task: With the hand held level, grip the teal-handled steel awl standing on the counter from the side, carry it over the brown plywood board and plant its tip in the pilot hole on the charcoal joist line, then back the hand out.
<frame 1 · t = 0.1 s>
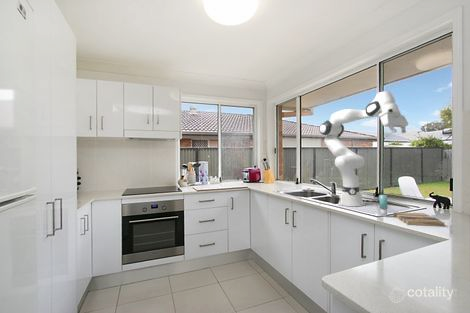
hand: (399, 132, 139), 52 cm above the countertop, fingers open, 8 cm apart
board: (416, 220, 126), on the countertop
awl: (384, 216, 137), on the countertop
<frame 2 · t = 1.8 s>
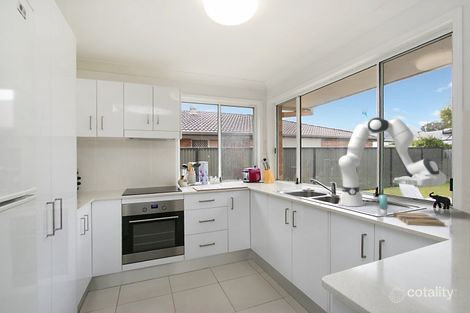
hand: (400, 182, 139), 21 cm above the countertop, fingers open, 8 cm apart
nothing on the countertop moved.
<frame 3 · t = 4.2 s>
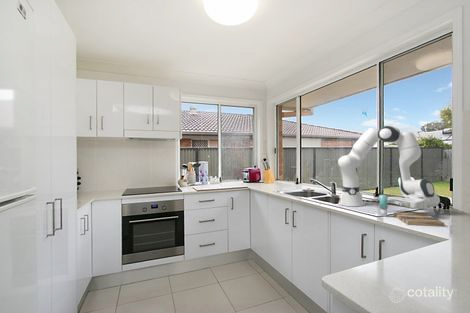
hand: (393, 202, 138), 8 cm above the countertop, fingers open, 8 cm apart
nothing on the countertop moved.
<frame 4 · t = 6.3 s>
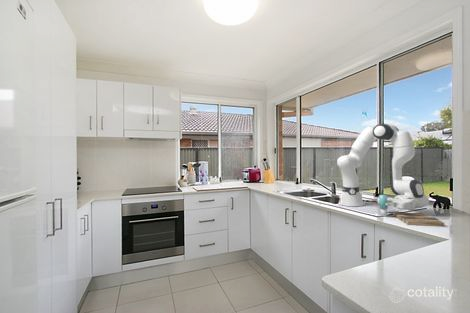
hand: (382, 203, 137), 8 cm above the countertop, fingers closed on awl, 4 cm apart
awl: (384, 216, 137), on the countertop, touching gripper
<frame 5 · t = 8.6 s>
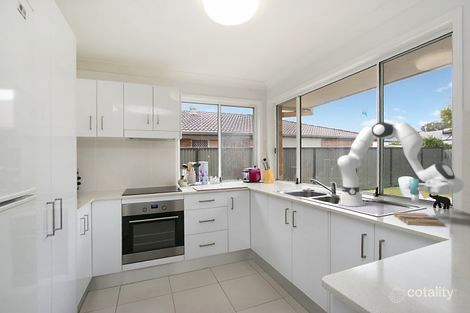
hand: (413, 188, 125), 19 cm above the countertop, fingers closed on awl, 4 cm apart
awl: (415, 202, 125), point 11 cm above the countertop, touching gripper
when the fingers open (9 cm above the countertop, at t = 11.3 s): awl stays where it is, resting in board.
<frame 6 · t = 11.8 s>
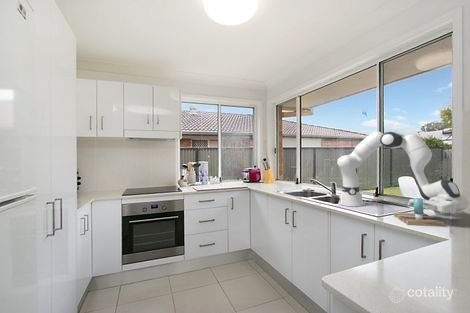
hand: (417, 205, 123), 9 cm above the countertop, fingers open, 8 cm apart
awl: (419, 221, 123), resting in board
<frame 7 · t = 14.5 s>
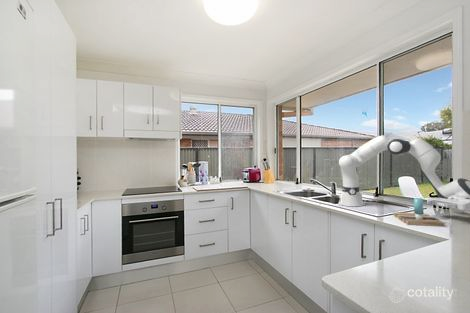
hand: (436, 204, 125), 9 cm above the countertop, fingers open, 8 cm apart
nothing on the countertop moved.
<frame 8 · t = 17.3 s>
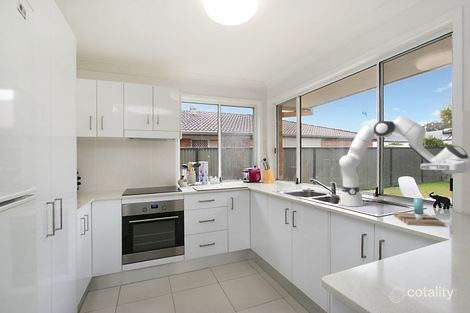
hand: (429, 167, 128), 30 cm above the countertop, fingers open, 8 cm apart
nothing on the countertop moved.
at the end: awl 0.0 cm from the target spot on the board, point 0.0 cm above the board's base; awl tilted 0°; the gripper is holding nothing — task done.
